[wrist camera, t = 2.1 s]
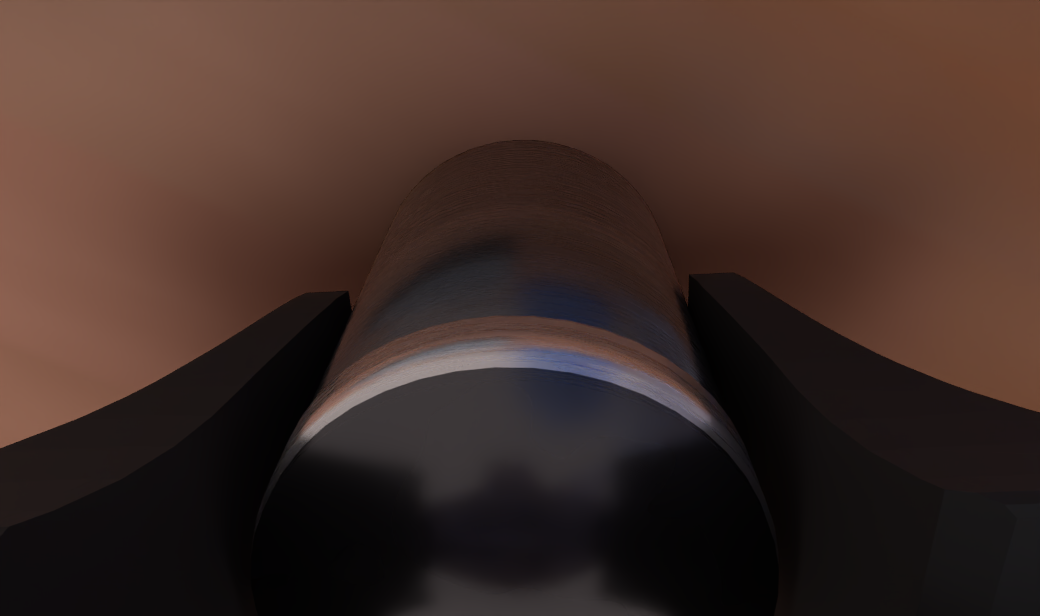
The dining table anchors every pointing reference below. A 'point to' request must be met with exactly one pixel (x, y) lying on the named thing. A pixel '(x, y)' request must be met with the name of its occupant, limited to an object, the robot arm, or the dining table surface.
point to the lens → (517, 420)
